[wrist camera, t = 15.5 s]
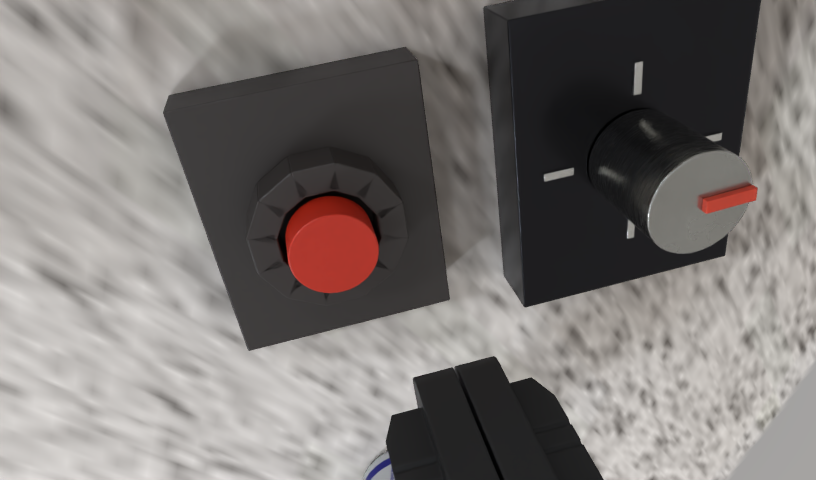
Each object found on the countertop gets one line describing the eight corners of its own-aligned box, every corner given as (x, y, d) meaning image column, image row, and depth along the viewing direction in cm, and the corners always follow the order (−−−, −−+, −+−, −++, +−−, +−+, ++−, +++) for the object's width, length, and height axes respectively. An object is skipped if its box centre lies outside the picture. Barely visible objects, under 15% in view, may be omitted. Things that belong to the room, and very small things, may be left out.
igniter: (168, 94, 26) (156, 128, 23) (406, 46, 27) (429, 71, 24) (247, 324, 32) (248, 376, 29) (438, 276, 33) (460, 321, 30)
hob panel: (482, 6, 27) (509, 21, 24) (719, -41, 28) (769, -32, 26) (503, 276, 34) (525, 309, 32) (691, 228, 36) (727, 257, 33)
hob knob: (588, 210, 30) (650, 271, 25) (586, 122, 27) (653, 171, 23) (676, 186, 30) (752, 241, 26) (681, 97, 28) (765, 141, 23)
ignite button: (275, 206, 25) (277, 226, 24) (363, 186, 26) (371, 205, 24) (296, 279, 27) (299, 303, 26) (378, 260, 28) (386, 281, 26)
